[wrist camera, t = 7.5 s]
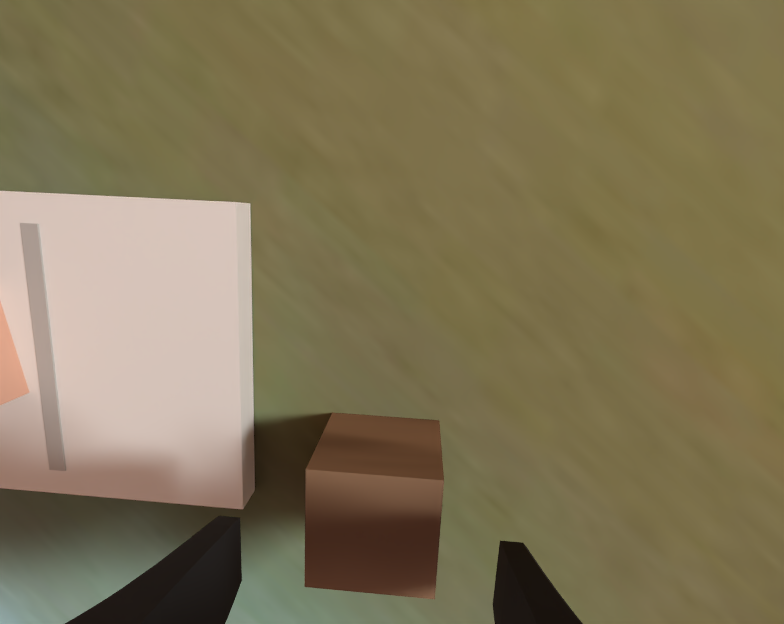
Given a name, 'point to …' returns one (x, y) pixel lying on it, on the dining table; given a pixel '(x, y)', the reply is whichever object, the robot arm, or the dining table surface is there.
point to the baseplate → (129, 348)
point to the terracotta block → (9, 365)
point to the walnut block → (374, 506)
